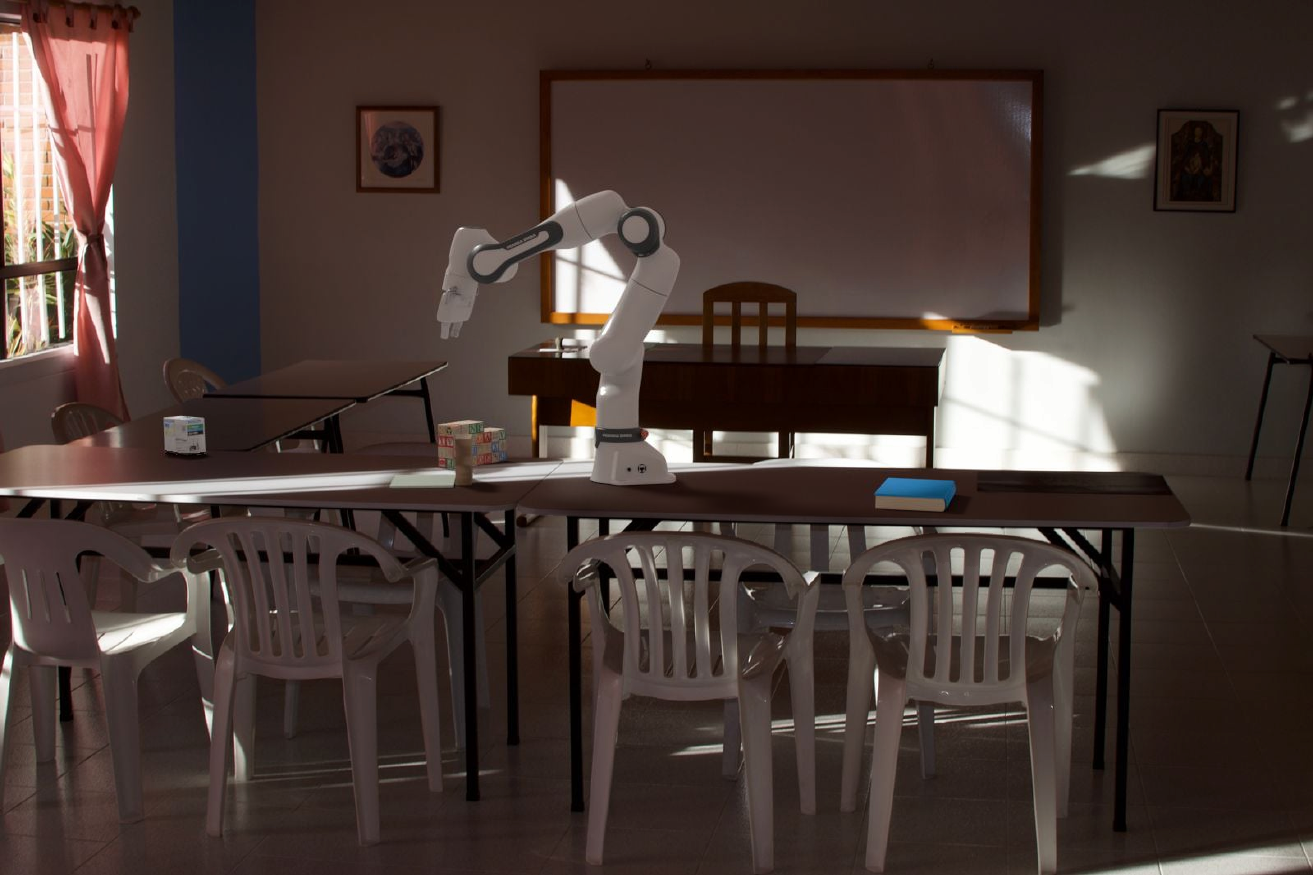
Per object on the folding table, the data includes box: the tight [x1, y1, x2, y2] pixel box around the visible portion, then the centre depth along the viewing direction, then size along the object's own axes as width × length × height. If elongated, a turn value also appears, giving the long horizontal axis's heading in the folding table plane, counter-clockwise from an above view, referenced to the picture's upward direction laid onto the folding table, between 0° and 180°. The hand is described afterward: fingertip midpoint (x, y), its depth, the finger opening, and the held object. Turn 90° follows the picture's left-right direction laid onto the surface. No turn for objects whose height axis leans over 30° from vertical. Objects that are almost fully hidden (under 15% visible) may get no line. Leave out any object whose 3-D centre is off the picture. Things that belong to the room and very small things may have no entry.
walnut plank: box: [455, 434, 474, 486], centre depth 381 cm, size 4×10×12 cm, turn 5°
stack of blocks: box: [437, 419, 507, 470], centre depth 413 cm, size 21×6×12 cm, turn 143°
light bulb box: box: [163, 415, 207, 453], centre depth 432 cm, size 11×7×11 cm, turn 58°
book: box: [873, 477, 957, 513], centre depth 355 cm, size 17×4×25 cm
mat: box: [389, 473, 456, 489], centre depth 381 cm, size 16×18×1 cm
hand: (449, 337), depth 387 cm, fingers open, 8 cm apart
